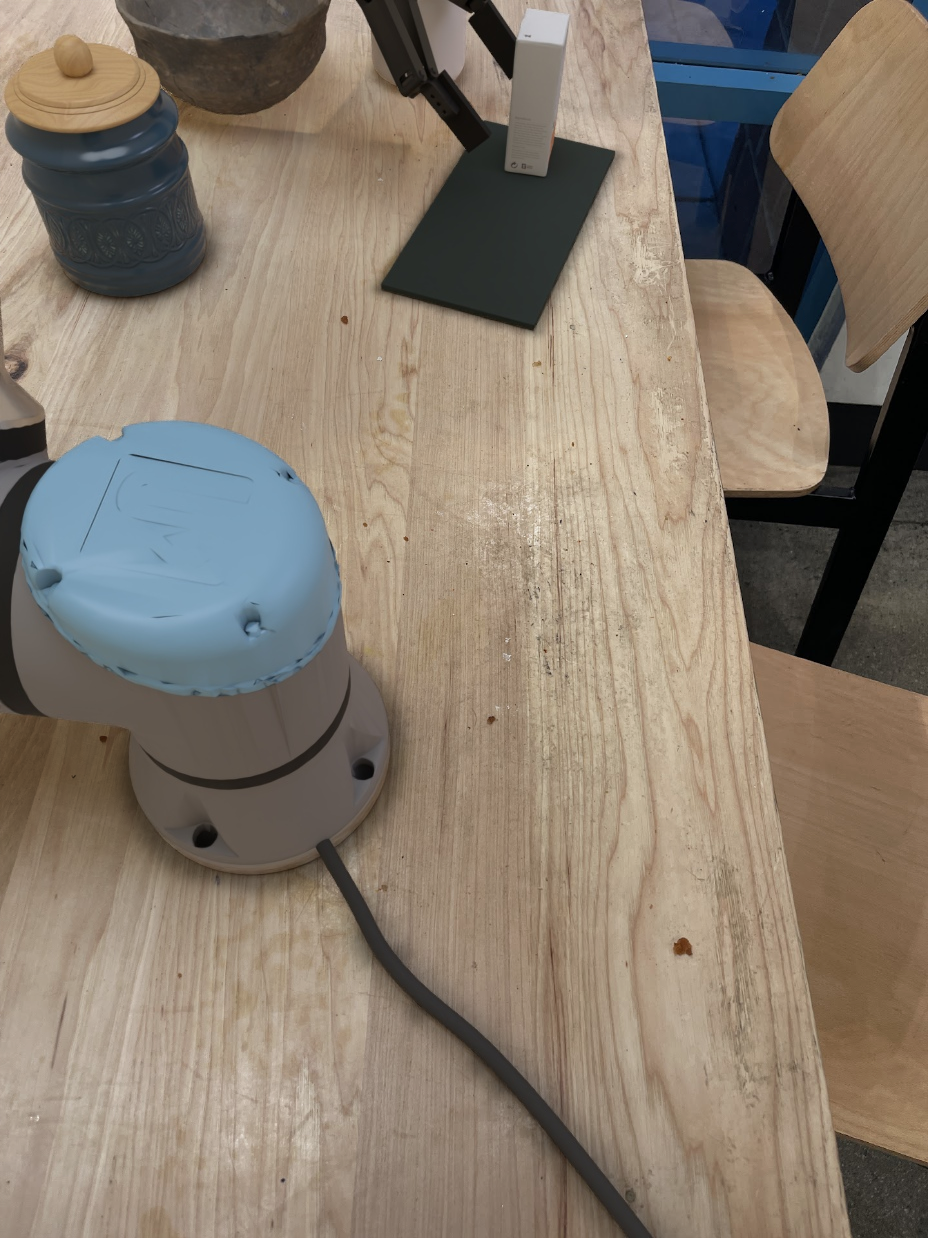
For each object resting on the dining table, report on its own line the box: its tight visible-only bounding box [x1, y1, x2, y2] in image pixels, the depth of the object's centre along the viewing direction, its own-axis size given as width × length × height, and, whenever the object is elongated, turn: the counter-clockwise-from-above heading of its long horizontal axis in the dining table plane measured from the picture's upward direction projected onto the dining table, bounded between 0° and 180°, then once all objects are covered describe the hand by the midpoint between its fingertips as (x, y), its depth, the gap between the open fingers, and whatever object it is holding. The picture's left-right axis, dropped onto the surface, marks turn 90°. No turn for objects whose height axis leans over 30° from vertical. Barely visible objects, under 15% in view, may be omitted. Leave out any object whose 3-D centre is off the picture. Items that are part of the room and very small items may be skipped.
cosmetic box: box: [505, 7, 571, 177], centre depth 82 cm, size 6×4×12 cm
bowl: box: [114, 0, 332, 116], centre depth 89 cm, size 21×21×10 cm
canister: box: [3, 34, 207, 298], centre depth 71 cm, size 13×13×18 cm
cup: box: [370, 0, 468, 87], centre depth 92 cm, size 10×10×10 cm
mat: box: [380, 119, 616, 331], centre depth 83 cm, size 28×14×1 cm, turn 161°
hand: (501, 105), depth 84 cm, fingers open, 13 cm apart
